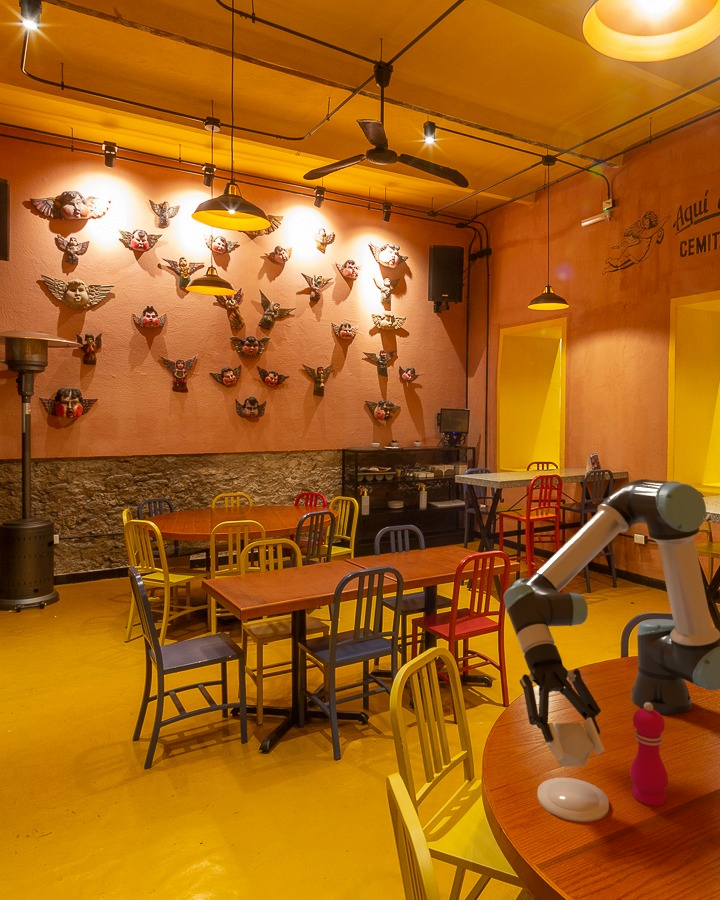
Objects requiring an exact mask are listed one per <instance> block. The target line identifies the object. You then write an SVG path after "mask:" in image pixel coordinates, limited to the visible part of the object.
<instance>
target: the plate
mask: <svg viewBox="0 0 720 900" xmlns="http://www.w3.org/2000/svg"><path fill="white" fill-rule="evenodd" d="M537 787H538V788H537V800H538V802H539V804H540V805H541V806H542V808H544V809H545V811H546V812H548V813H550V814H552V815H554V816H556V817H557V818H560V819H563V820H566V821H571V822H578V823H580V822H581V823H586V822H587V823H588V822H595V821H599V820H601V819H603V818H604V817H606V815H608V812H609V809H610V801H609V798H608V796H607V794H605V792H604V791H603V790H602V789H600V788H599V787H598V786H596V785H594V784H593V783H592V784H591V783H590V782H587V781H585V780H581V779H578V778H571V777H555V778H550V779H547V780H545V781H542V782H541V784H539V785H538V786H537Z"/></svg>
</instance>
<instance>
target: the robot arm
mask: <svg viewBox="0 0 720 900" xmlns="http://www.w3.org/2000/svg"><path fill="white" fill-rule="evenodd" d="M706 515H707V507H706V502H705V499H704V497H703V495H702V494H701V492H700V491H699V490H697V488H695V487H693V485H690V484H687V483H683V482H678V481H672V480H671V481H668V480H666V481H665V480H656V479H655V480H653V479H652V480H651V479H643V478H642V479H641V478H640V479H635V480H632V481H631V482H628V483H626V484H624V485H623V486H621V487H619V488H618V489H616V490H615V491H614V492H612V493H611V494H610V495H608V496H607V497H606V498H605V499H604V500H603V501H602V502H601V503H600V504H599V505H598V506H597V512H596V513H595V514H594V515H593V516H592V517H591V518H590V519H589V520H587V522H586V523H585V524H583V526H582V527H581V528H580V529H578V531H577V532H576V533H574V535H572V536H571V537H570V538H569V539H568V540H567V541H566V542H565V543H564V544H563V545H562V546H561V547H559V549H558V550H557V551H556V552H555V553H554V554H553V555H552V556H551V557H550V558H549V559H548V560H547V561H546V562H545V563H543V565H541V566H540V568H538V569H537V571H536V572H535V573H533V575H531V576H530V577H529V578H519V579H517V580H516V581H514V583H513V584H512V586H511V587H509V588H508V589H506V590H505V592H504V593H503V597H502V598H503V602H504V606H505V609H506V613H507V614H508V617H509V619H510V622H511V624H512V628H513V631H514V633H515V635H516V638H517V641H518V643H519V646H520V649H521V652H522V653H523V654H524V656H523V658H524V661H525V663H526V665H527V668H528V671H529V672H530V673H529V674H523V675H522V677H520V679H519V684H520V685H521V688H522V690H523V693H524V694H523V695H524V699H525V704H526V705H525V707H526V712H527V716H528V722H529V725H530V726H536V727H537V729H540V730H541V733H542V735H543V739H544V741H545V743H546V744H547V743H549V742H550V745H551V748H552V751H553V753H554V755H553V757H554V756H555V757H554V759H555V761H556V762H557V761H559V760H561V759H562V758H563V757H564V756H565V755H564V752H563V750H562V747H561V744H560V741H559V739H558V736H557V733H556V731H555V728H554V726H555V724H554V723H553V722H549V708H550V707H549V706H550V703H549V702H550V693H552V692H559V693H560V694H561V696H564V697H565V698H566V699H567V701H568V702H569V703H570V704H571V705H572V707H574V708H575V710H576V711H577V712H578V713H579V714H580V715H581V717H582V718H583V719H584V721H583V722H582V725H583V727H584V731H585V732H586V734H587V735H588V737H589V738H590V740H591V741H592V743H593V744H594V747H593V749H592V751H593V752H594V755H595V756H599V755H601V754H602V753H603V752H604V751H605V747H604V745H603V742H602V739H601V737H600V734H601V729H600V727H599V724H598V722H597V721H596V717H597V716H598V715H600V713H601V711H602V710H601V707H600V706H599V705H598V703H597V701H596V700H595V698H594V697H593V695H592V693H591V692H590V690H589V688H588V687H587V685H586V684H585V682H584V680H583V678H582V675H581V672H580V670H579V669H578V668H575V669H574V670H568V669H567V668H566V667H565V666H564V665H563V660H562V657H561V655H560V653H559V649H558V647H557V645H555V643H556V642H555V640H554V637H553V635H552V633H551V630H550V628H549V627H565V626H566V627H568V626H569V627H572V626H578V625H582V624H583V623H585V622H586V621H587V618H588V615H589V613H588V610H589V608H588V603H587V601H586V599H585V597H583V595H582V594H580V593H575V592H571V591H570V592H567V593H566V592H565V593H564V592H560V591H561V590H563V588H565V587H566V585H568V583H570V582H571V581H572V579H574V577H576V576H577V575H578V573H580V572H581V571H582V570H583V569H584V568H585V567H586V566H588V564H589V563H590V562H591V561H592V560H593V559H594V558H595V557H597V555H598V554H599V553H600V552H601V551H602V550H603V549H604V548H605V547H606V546H607V545H608V544H609V543H610V542H611V541H612V540H614V539H615V538H616V537H617V536H618V534H620V533H626V532H627V531H628V530H630V528H632V527H633V526H635V525H637V524H645V525H646V527H647V532H648V536H649V539H650V540H653V542H656V545H657V548H658V553H659V558H660V563H661V567H662V572H663V573H662V574H663V576H664V581H665V587H666V592H667V597H668V602H669V607H670V611H671V615H672V619H668V618H667V619H666V618H654V619H646V620H645V619H644V620H643V621H640V622H639V624H638V627H637V628H638V629H637V634H636V636H637V673H636V677H635V681H634V685H633V686H632V689H631V701H632V702H633V703H634V704H635V705H636V706H638V707H640V708H641V709H642V708H644V704H645V703H647V702H649V703H651V704H652V705H653V710H655V711H657V712H658V713H659V714H666V715H681V714H685V713H688V712H690V710H691V709H692V697H691V695H690V693H689V689H688V686H687V682H689V683H691V684H694V685H695V686H696V687H698V688H703V689H705V690H708V691H718V690H720V630H719V629H717V628H716V627H714V626H713V625H712V621H711V616H710V615H711V614H710V610H709V605H708V600H707V595H706V590H705V585H704V582H703V581H704V580H703V576H702V571H701V566H700V561H699V556H698V551H697V547H696V542H695V539H696V537H697V536H698V534H699V533H700V527H702V525H703V524H704V521H705V519H704V517H706ZM686 681H687V682H686ZM570 682H571V683H570ZM533 683H534V684H535V685H537V686H538V696H539V698H538V699H539V700H538V704H537V701H536V700H537V699H536V695H535V690H534V685H533ZM537 705H538V707H537ZM548 722H549V723H548ZM552 751H551V752H552ZM553 753H552V754H553Z"/></svg>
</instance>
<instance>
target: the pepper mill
mask: <svg viewBox="0 0 720 900" xmlns="http://www.w3.org/2000/svg"><path fill="white" fill-rule="evenodd" d="M632 723H633V726H634V728H635V729H636V730H635V739H636V740H637V743H638V748H637V749H638V750H637V753H636V756H635V758H634V760H633V762H632V763H631V766H630V770H629V771H630V773H629V777H630V779H631V782H632V783H633V784H632V796H633V797H634V799H635V800H637V801H638V802H640V803H642V804H644V805H647V806H655V807H657V806H659V807H660V806H662V805H664V804H665V803H666V800H667V799H666V797H667V795H666V793H667V792H666V790H665V789H666V788H667V787H668V785H669V775H668V773H667V770H666V766H665V765H664V762H663V760H662V757H661V754H660V746H661V744H662V743H663V740H662V739H663V735H662V733H663V732H664V731H665V726H666V724H665V719H664V717H663V716H662V715H661V713H658V712H657V711H655V710H653V705H652V704H651V703H649V702H647V703H645V704H644V708H642V707H641V708H640V709H637V710H636V711H635V712H634V714H633V716H632Z"/></svg>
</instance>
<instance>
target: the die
mask: <svg viewBox="0 0 720 900" xmlns="http://www.w3.org/2000/svg"><path fill="white" fill-rule="evenodd" d="M554 728H555V731H556V733H557V736H558V739H559V741H560V744H561V747H562V750H563V752H564V755H565V756H564V757H563V758H562V759H561V760H559V761H556V762H557V763H558V765H559V766H560V767H561V768H563V767H564V768H565V767H568V768H569V767H586V765H587V763H588V760H589V758H590V755H591V753H592V752H593V747H594V744H593V743H592V741H591V740H590V738H589V737H588V735H587V732H586V730H585V728H583V726H582V724H581V723H580V722H560V723H559V722H558V723H556V722H555V724H554ZM546 745H547V746H548V748H549V750H550V751H551V753H552V755H553V757H554V758H555V756H554V753H553V751H552V748H551V745H550V742H549V743H547V742H546Z"/></svg>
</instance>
